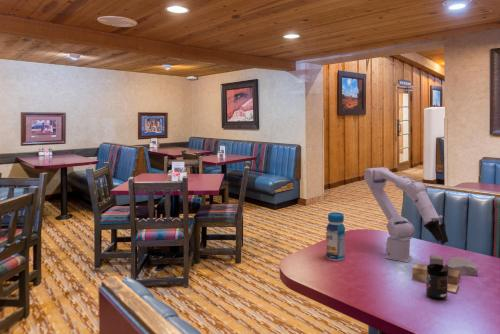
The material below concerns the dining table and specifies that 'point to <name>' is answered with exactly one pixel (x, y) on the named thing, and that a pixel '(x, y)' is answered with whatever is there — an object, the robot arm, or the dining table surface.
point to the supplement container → (437, 281)
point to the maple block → (419, 272)
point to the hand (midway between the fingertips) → (443, 241)
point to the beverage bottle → (335, 237)
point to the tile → (453, 288)
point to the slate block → (436, 259)
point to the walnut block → (453, 276)
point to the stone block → (462, 266)
